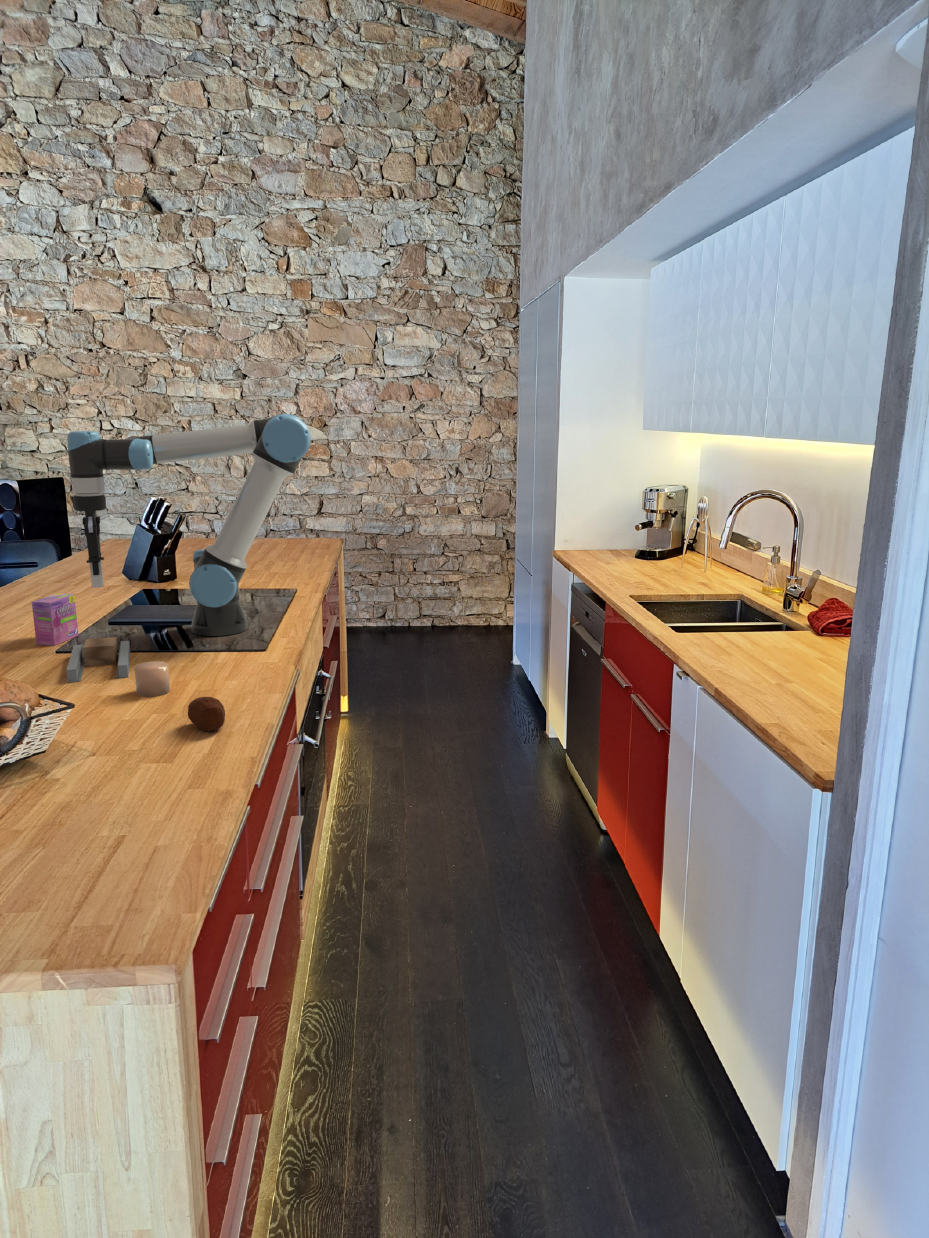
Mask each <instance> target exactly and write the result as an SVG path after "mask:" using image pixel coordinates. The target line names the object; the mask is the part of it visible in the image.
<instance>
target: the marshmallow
mask: <svg viewBox="0 0 929 1238" xmlns="http://www.w3.org/2000/svg"><path fill="white" fill-rule="evenodd" d="M169 673H170V672H169V664H168V662H165V661H155V660H154V661H147V662H141V663H138V664H136V665H135V666H134V677H135V689H136V695H137V696H138V697H142V698H143V697H144V698H153V697H160V696H164V695H167V694H168V693H170V691H171V685H170V683H171V682H170V674H169Z"/></svg>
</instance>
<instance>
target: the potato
mask: <svg viewBox="0 0 929 1238" xmlns="http://www.w3.org/2000/svg"><path fill="white" fill-rule="evenodd" d="M187 716H188V720H189V721H190V722H191V723H192V724H193V725H194V726H195V727H197V728H198V729H200V730H203V731H204V732H205V731H206V732H215V731H218V730H219V729H221V728H222V727H223V726H224V724H225V721H226V710H225V707H224V704H222V702H221V701H220V699H217V698H215V697H213V696H200V697H197V698H195V699H193V700H191V701H190V702H189V704H188V706H187Z"/></svg>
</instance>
